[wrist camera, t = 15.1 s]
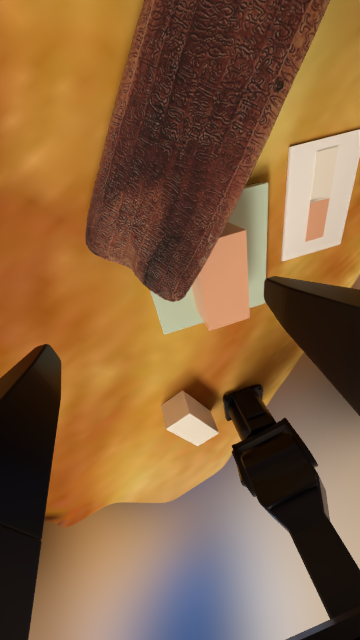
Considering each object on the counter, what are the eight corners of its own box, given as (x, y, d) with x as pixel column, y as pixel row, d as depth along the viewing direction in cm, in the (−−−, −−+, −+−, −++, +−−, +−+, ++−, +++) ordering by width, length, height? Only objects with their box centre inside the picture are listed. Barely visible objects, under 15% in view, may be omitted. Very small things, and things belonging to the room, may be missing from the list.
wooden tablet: (262, -549, 7) (717, -792, 4) (269, -375, 9) (588, -469, 6) (74, 247, 18) (171, 315, 16) (95, 249, 20) (184, 309, 18)
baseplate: (259, 298, 27) (265, 303, 26) (162, 328, 26) (164, 334, 25) (260, 182, 20) (268, 182, 19) (127, 217, 19) (128, 219, 18)
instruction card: (338, 243, 25) (341, 244, 25) (281, 260, 24) (282, 261, 24) (363, 128, 19) (367, 127, 19) (289, 147, 19) (291, 146, 18)
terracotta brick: (231, 298, 24) (249, 317, 21) (196, 309, 24) (209, 331, 21) (224, 220, 19) (246, 229, 16) (180, 233, 19) (193, 245, 16)
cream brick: (209, 410, 37) (219, 432, 34) (190, 422, 38) (197, 446, 34) (182, 389, 33) (189, 413, 29) (161, 403, 33) (165, 429, 30)
